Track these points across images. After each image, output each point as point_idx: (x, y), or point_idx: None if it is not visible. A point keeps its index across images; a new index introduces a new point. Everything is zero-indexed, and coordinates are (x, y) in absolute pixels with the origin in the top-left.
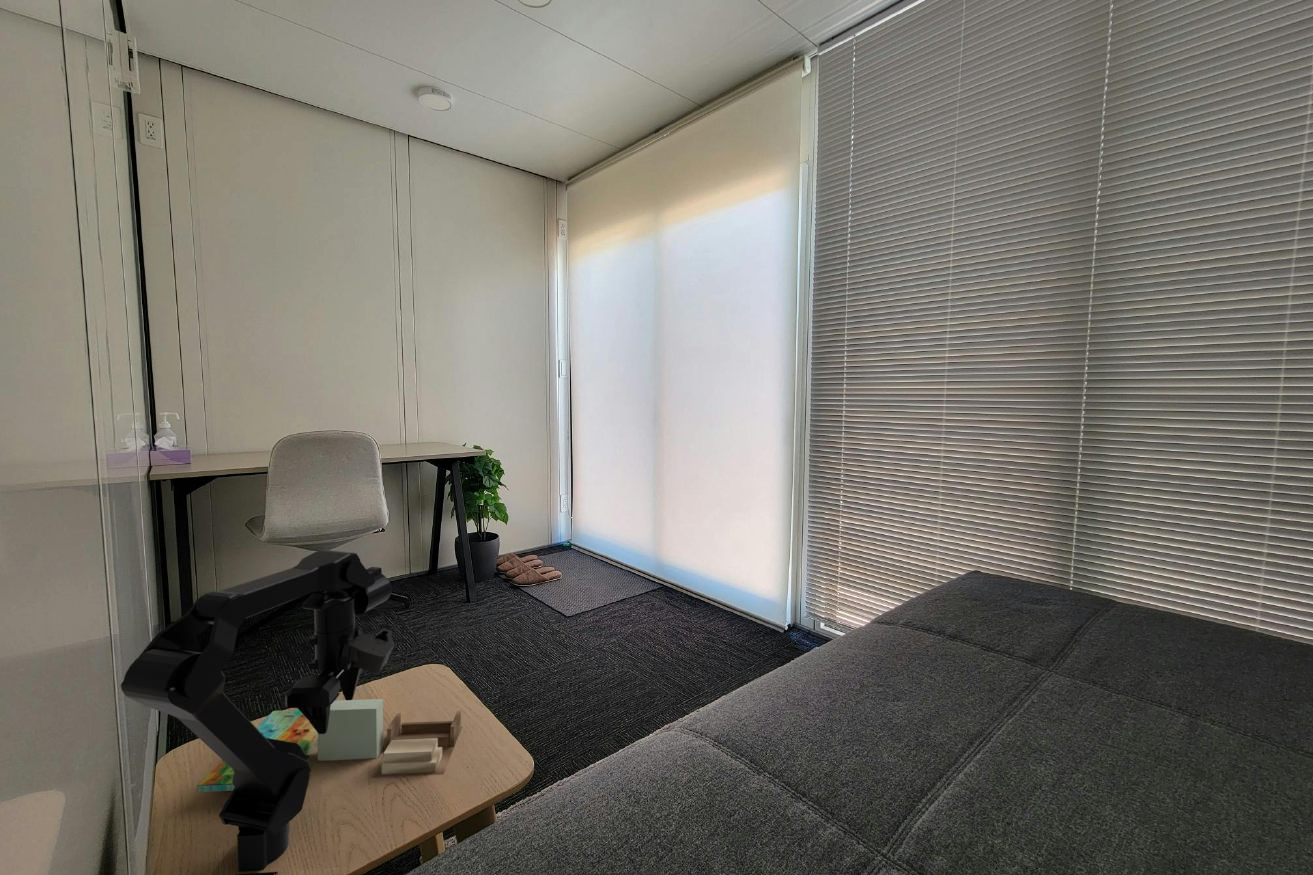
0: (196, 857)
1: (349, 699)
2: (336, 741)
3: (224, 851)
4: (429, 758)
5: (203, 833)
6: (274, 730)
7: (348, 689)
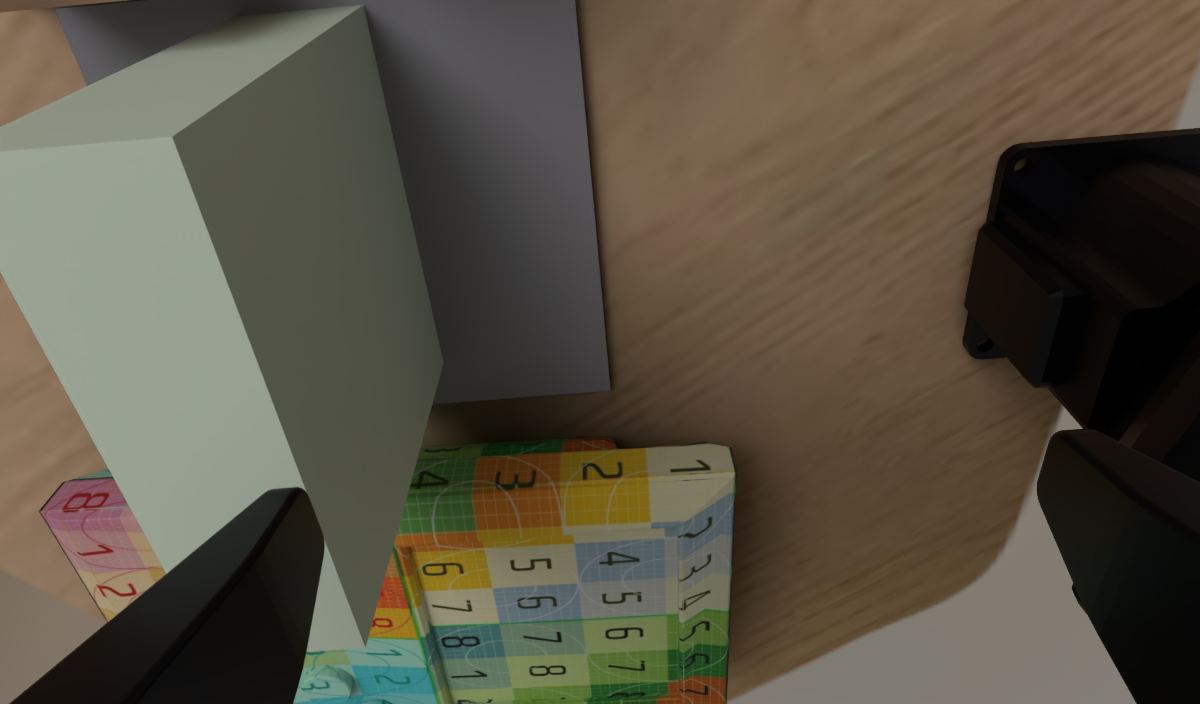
0: (997, 494)
1: (310, 513)
2: (393, 345)
3: (993, 423)
4: None
5: (868, 542)
6: (346, 678)
7: (256, 651)
